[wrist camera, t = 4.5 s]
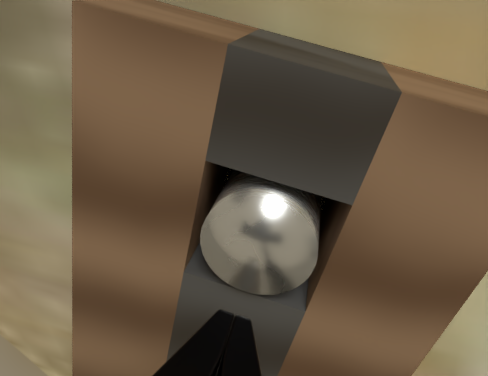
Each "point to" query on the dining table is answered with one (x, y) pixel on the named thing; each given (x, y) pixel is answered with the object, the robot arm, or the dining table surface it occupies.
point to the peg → (262, 235)
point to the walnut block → (271, 168)
